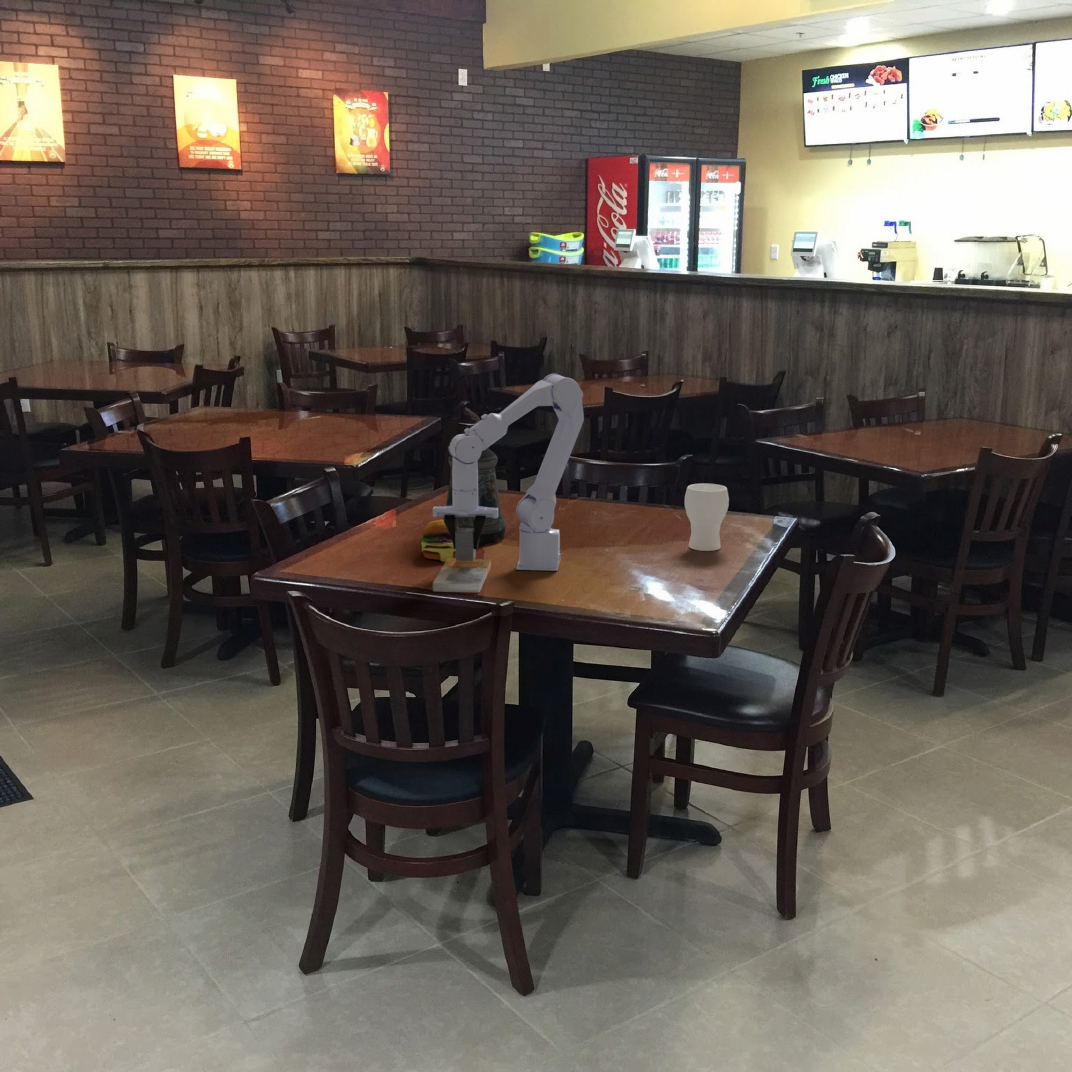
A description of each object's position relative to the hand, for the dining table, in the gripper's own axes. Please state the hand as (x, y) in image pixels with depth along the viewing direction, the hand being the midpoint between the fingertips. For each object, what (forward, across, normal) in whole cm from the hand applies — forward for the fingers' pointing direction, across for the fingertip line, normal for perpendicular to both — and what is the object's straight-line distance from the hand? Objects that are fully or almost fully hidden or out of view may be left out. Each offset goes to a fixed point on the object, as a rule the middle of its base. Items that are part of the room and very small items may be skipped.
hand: (465, 548), depth 254 cm
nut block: (+2, 0, 0) cm, 2 cm away
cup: (+6, +55, +28) cm, 62 cm away
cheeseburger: (+6, -8, +13) cm, 16 cm away
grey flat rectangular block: (+6, 0, -5) cm, 8 cm away
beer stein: (+6, -4, +32) cm, 33 cm away
